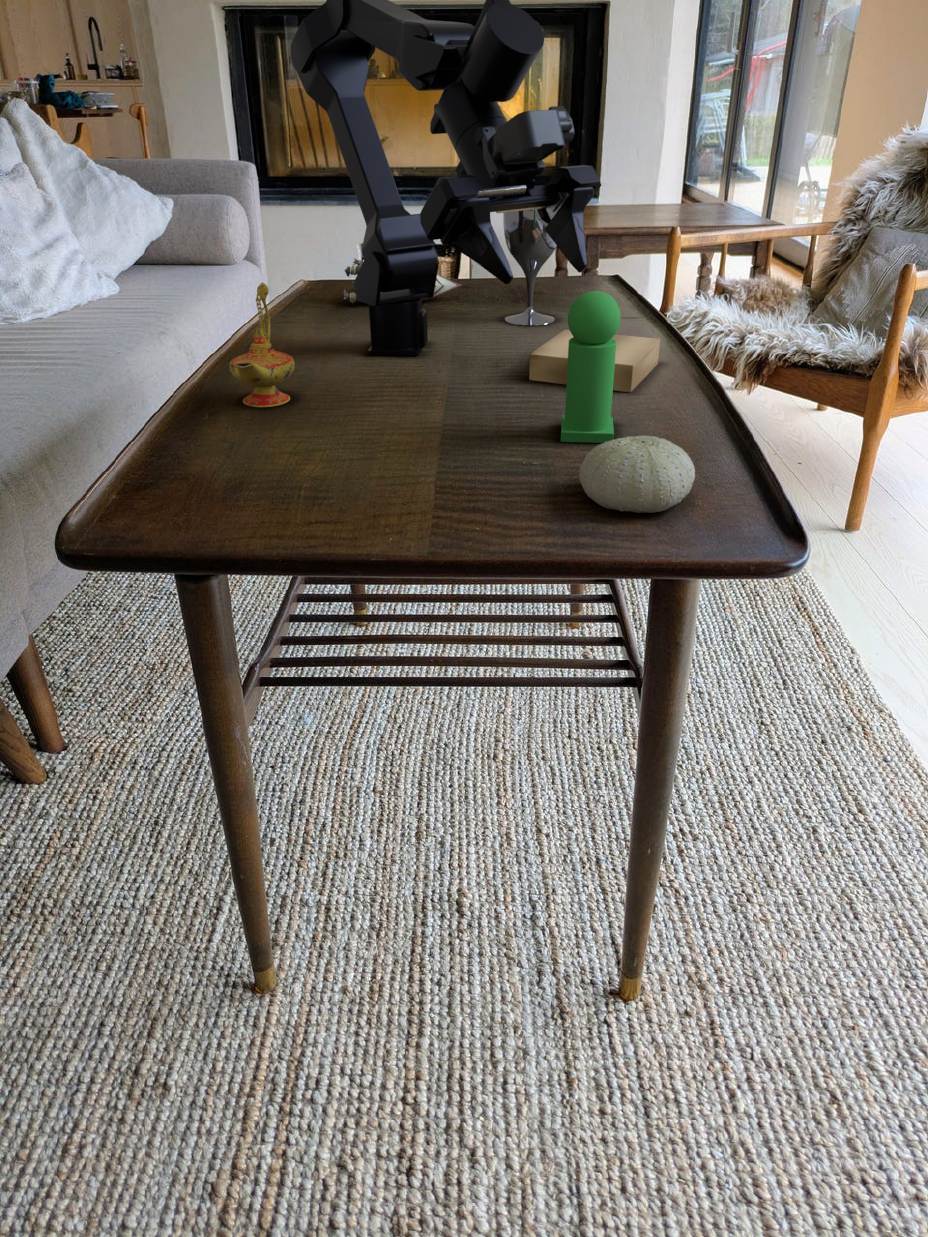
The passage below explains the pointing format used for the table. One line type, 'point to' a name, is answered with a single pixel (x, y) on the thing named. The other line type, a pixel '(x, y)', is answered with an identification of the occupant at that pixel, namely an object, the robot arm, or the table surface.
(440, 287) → the figurine
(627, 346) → the wooden block
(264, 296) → the magic lamp
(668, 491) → the sea urchin shell
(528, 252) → the wine glass
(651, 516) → the table surface
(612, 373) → the green toy
